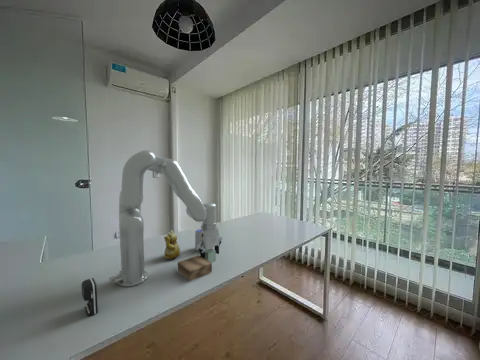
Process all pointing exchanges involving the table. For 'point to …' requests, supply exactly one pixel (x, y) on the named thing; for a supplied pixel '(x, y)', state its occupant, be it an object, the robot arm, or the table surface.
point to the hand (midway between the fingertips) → (209, 256)
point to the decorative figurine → (171, 246)
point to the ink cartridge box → (198, 238)
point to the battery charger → (90, 296)
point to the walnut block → (194, 267)
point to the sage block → (210, 255)
